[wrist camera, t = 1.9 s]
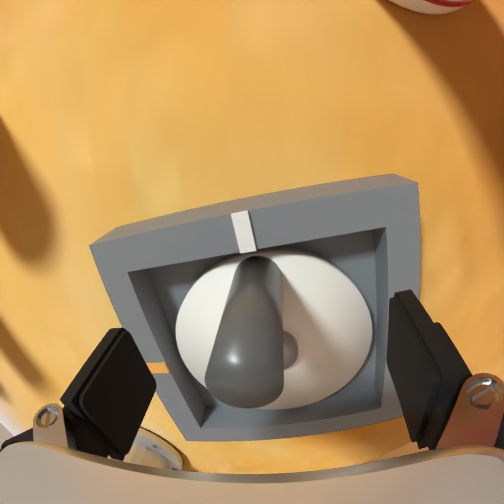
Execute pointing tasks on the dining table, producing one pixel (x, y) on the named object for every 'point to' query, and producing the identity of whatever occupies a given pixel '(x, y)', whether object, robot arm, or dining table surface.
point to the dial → (273, 329)
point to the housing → (249, 239)
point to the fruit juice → (432, 5)
